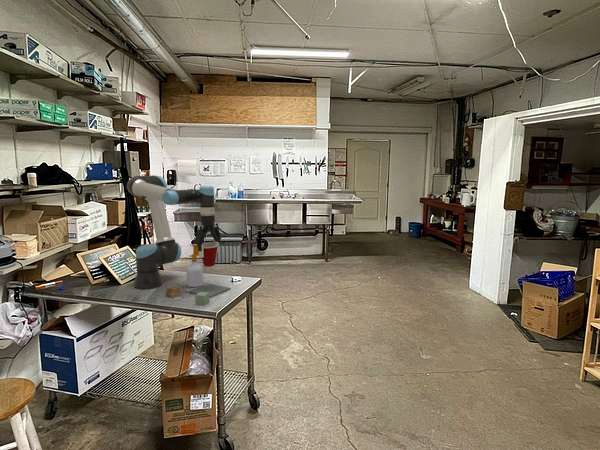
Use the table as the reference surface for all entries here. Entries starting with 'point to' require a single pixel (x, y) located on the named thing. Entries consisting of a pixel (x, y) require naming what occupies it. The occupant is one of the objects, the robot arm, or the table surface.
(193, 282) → the soap bottle
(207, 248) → the plastic cup
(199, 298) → the green block
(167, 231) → the robot arm
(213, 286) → the charcoal mat
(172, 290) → the walnut block
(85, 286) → the table surface
